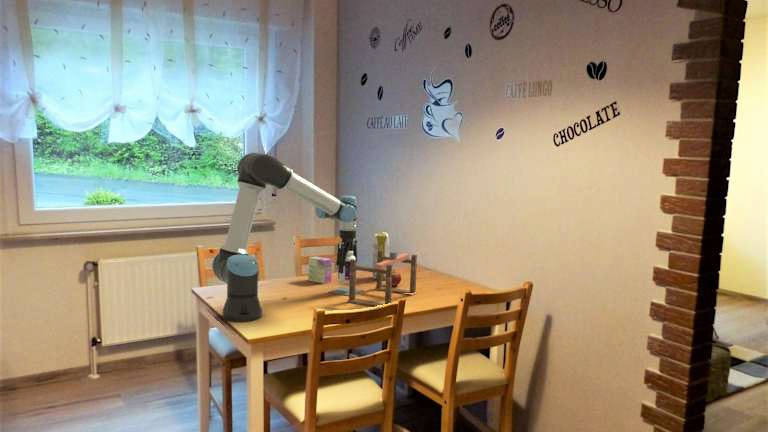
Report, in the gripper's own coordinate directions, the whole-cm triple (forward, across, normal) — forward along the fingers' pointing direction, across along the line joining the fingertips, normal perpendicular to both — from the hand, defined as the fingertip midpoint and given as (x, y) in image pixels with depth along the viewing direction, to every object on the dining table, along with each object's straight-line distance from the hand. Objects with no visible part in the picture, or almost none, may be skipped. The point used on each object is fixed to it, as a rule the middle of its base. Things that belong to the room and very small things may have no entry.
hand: (346, 277), depth 269 cm
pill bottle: (+2, 0, 0) cm, 2 cm away
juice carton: (+7, +33, -1) cm, 34 cm away
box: (+7, +10, +21) cm, 24 cm away
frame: (+7, 0, -19) cm, 20 cm away
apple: (+7, +23, -13) cm, 27 cm away
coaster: (+7, 0, 0) cm, 7 cm away
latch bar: (-10, 0, -24) cm, 25 cm away
